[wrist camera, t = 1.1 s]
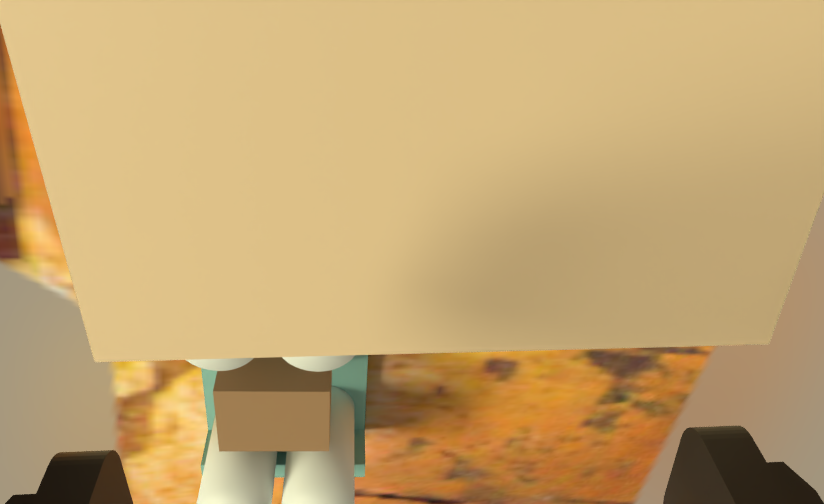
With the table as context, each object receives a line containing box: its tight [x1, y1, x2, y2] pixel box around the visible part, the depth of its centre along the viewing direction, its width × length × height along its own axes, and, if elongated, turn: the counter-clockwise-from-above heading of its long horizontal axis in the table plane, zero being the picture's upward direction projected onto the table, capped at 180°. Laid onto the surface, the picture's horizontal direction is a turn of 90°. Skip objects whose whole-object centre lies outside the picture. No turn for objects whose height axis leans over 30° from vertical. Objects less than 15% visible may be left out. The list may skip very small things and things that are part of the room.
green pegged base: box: [187, 355, 368, 504], centre depth 29 cm, size 13×7×6 cm, turn 176°
